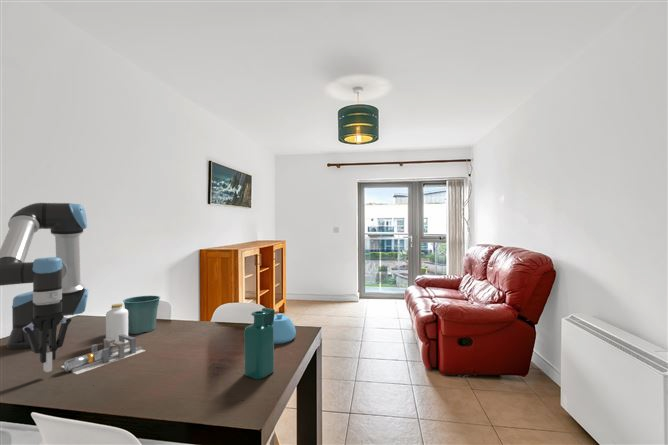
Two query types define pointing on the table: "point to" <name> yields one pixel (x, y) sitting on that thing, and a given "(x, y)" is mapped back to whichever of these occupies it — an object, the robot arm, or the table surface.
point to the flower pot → (141, 313)
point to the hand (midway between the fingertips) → (47, 370)
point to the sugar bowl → (283, 329)
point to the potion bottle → (116, 322)
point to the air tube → (84, 360)
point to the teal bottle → (259, 345)
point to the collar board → (116, 354)
